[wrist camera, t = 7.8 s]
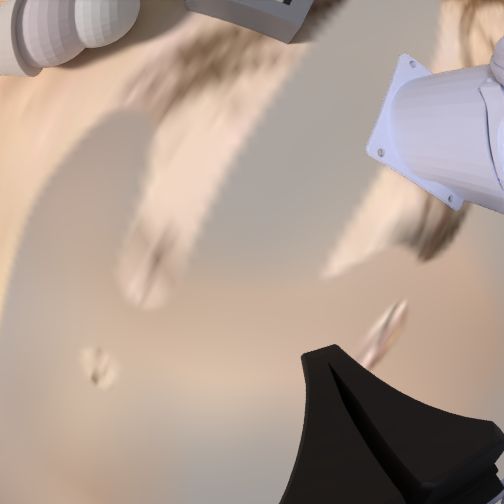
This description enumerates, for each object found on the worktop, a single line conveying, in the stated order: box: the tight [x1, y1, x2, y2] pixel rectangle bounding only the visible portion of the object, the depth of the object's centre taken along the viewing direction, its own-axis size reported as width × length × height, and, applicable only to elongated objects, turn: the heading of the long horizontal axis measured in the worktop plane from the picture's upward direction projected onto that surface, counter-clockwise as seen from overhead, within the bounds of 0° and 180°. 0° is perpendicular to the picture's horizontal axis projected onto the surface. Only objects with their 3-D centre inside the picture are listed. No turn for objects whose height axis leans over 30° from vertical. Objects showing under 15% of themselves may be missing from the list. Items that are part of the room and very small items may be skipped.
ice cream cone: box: [0, 0, 140, 77], centre depth 10 cm, size 6×6×15 cm
